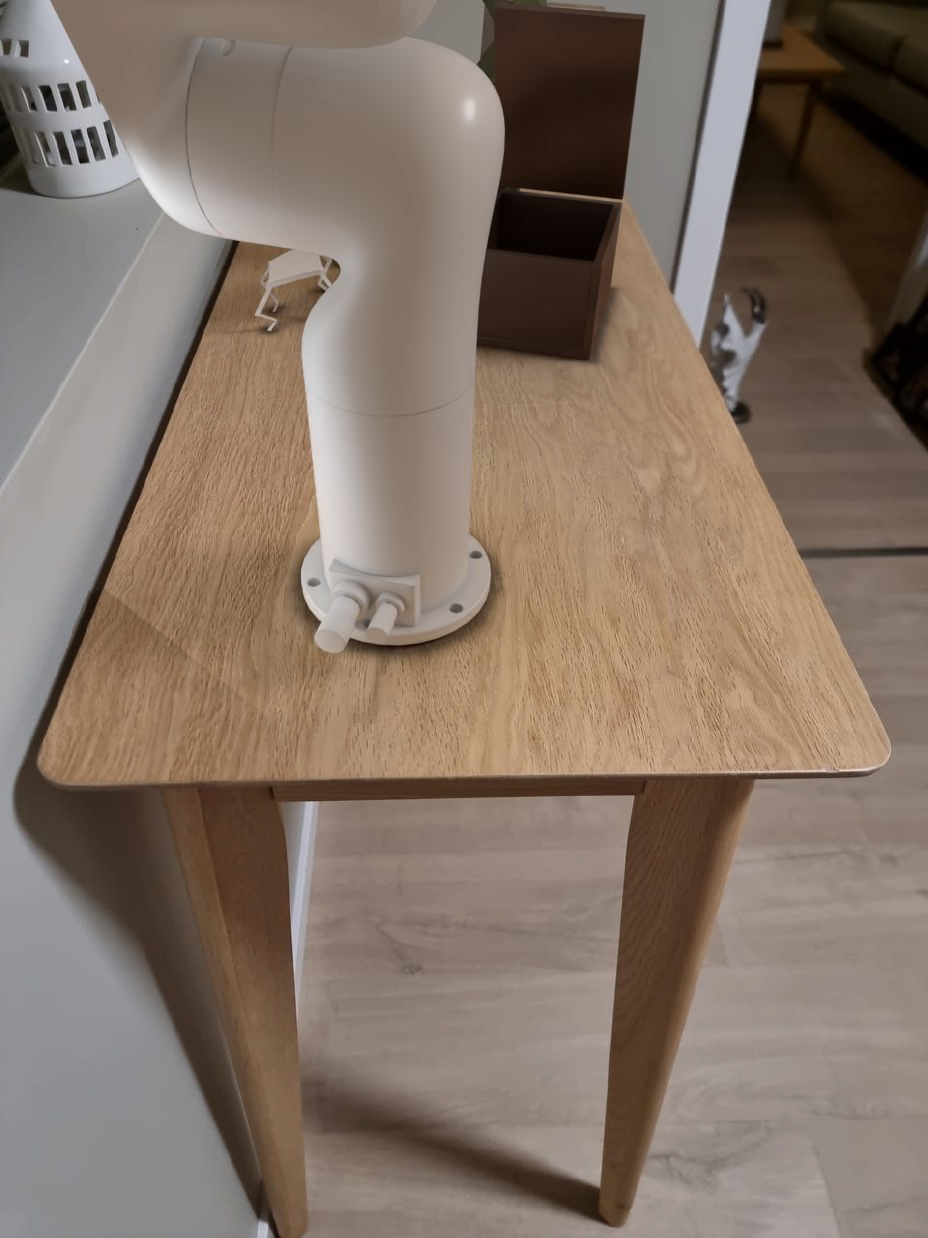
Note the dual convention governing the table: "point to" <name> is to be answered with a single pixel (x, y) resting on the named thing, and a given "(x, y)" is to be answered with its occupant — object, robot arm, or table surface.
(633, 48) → the lid
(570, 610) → the table surface
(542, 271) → the chest
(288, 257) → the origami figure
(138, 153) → the robot arm
